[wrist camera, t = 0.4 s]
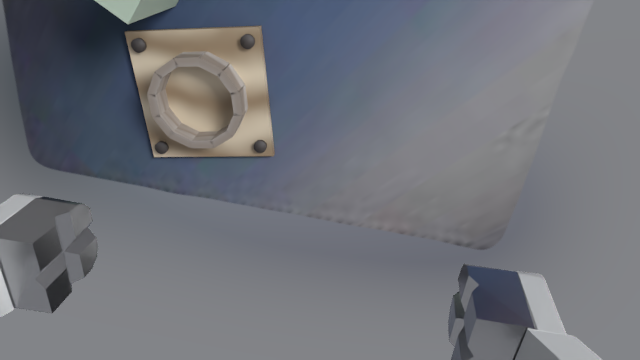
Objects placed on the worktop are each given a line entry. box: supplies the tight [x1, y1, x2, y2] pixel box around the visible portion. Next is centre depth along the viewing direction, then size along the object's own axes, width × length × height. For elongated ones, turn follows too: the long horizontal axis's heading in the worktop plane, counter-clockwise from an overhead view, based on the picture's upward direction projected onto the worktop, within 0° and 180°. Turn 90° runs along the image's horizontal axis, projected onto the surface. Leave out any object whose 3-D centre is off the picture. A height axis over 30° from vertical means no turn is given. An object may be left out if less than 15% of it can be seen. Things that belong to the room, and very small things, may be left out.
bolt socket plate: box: [125, 26, 275, 157], centre depth 57 cm, size 16×16×4 cm
